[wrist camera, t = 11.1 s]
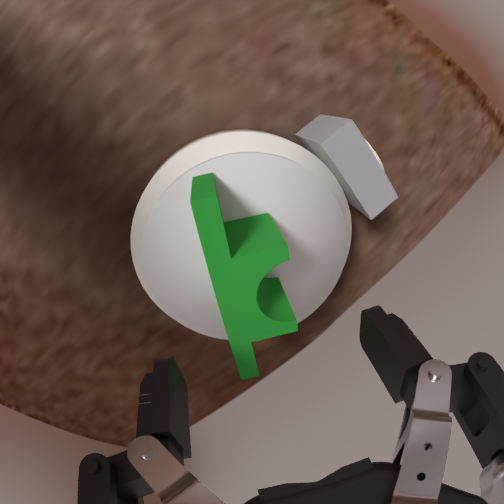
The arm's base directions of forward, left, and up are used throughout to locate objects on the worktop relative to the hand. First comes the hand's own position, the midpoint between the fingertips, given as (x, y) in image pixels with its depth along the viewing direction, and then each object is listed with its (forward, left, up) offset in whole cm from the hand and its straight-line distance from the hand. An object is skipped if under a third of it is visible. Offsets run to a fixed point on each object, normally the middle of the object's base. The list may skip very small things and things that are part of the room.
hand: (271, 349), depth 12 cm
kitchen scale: (+1, +1, -12) cm, 12 cm away
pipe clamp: (0, 0, -8) cm, 8 cm away
